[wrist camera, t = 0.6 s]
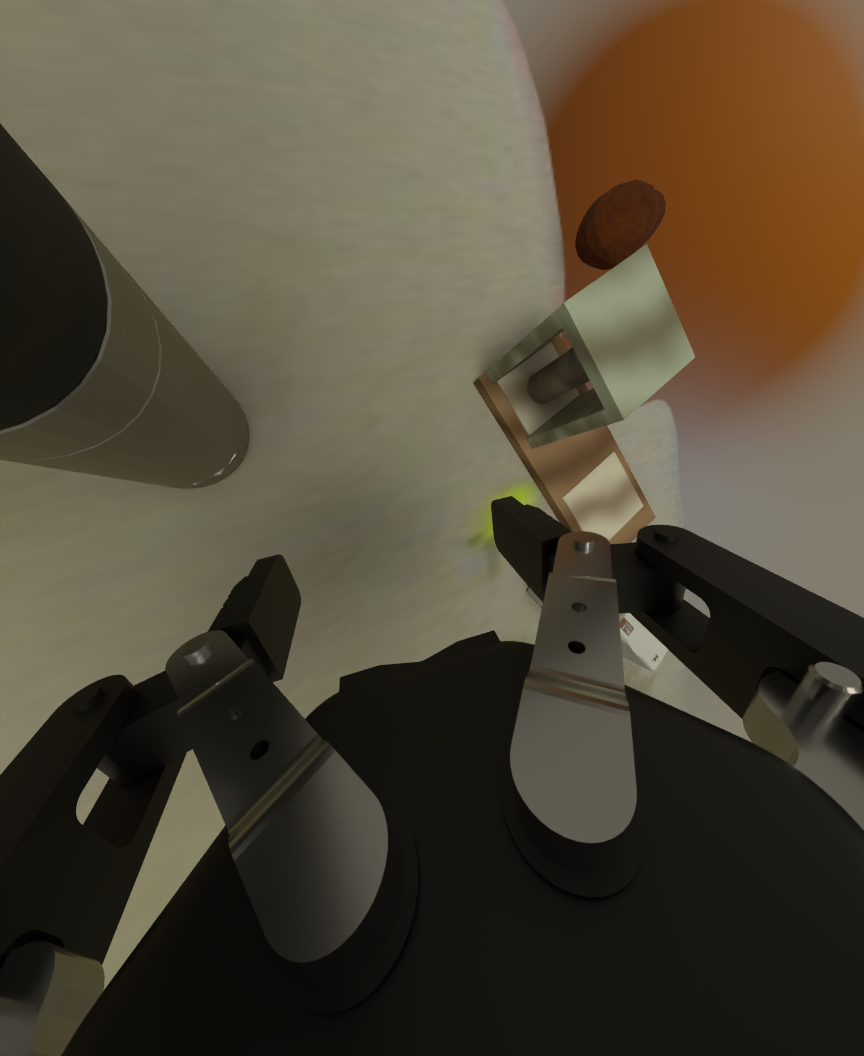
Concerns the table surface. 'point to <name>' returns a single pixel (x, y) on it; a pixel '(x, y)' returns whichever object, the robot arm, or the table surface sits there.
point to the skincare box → (634, 641)
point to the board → (590, 394)
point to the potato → (619, 224)
